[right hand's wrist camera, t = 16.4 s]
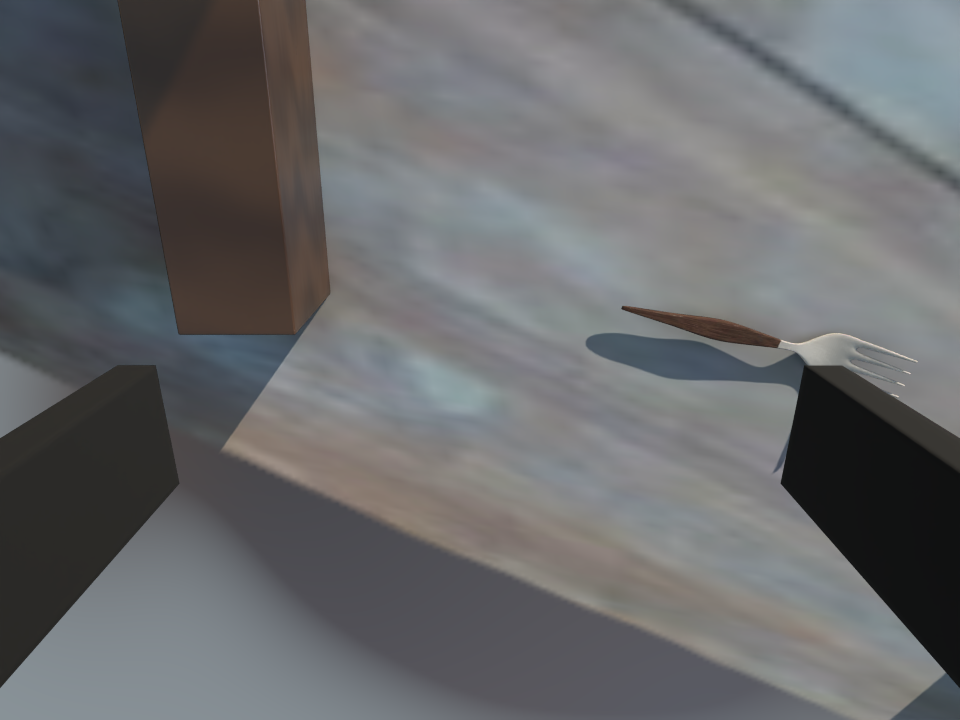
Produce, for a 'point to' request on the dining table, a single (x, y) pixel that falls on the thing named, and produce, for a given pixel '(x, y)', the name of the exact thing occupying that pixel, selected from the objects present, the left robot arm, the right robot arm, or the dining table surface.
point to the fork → (780, 341)
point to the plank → (231, 159)
